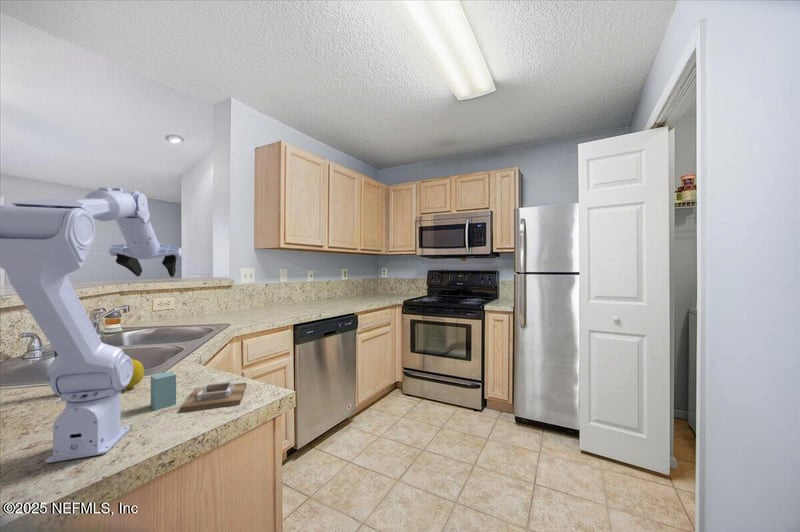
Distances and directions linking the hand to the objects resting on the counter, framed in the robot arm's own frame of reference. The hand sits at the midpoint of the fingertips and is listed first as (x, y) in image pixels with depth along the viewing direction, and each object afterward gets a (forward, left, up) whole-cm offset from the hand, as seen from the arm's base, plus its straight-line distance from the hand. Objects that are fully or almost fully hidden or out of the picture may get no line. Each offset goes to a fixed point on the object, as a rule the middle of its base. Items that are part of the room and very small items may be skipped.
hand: (156, 273), depth 84 cm
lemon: (+2, +7, -31) cm, 32 cm away
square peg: (-13, -5, -31) cm, 34 cm away
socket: (-13, -16, -31) cm, 37 cm away
